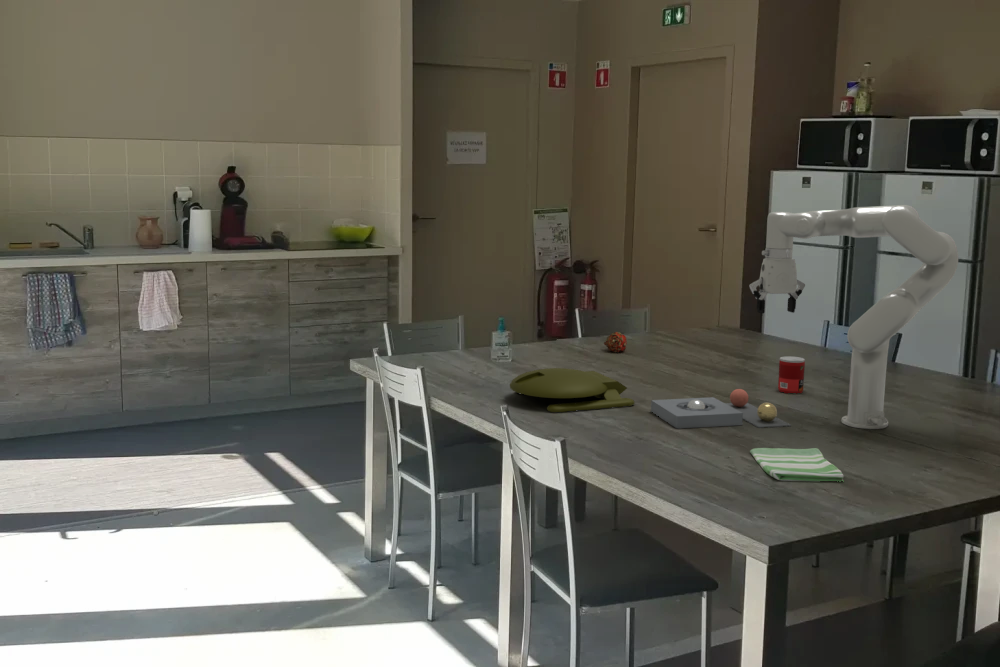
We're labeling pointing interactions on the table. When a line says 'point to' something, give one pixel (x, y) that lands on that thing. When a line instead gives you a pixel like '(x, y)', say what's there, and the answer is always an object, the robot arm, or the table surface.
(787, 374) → the canned food
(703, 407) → the steel ball
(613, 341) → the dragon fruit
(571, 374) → the spaceship
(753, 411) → the mat
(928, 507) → the table surface
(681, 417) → the board
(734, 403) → the rubber ball
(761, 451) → the dish towel
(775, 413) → the brass ball
